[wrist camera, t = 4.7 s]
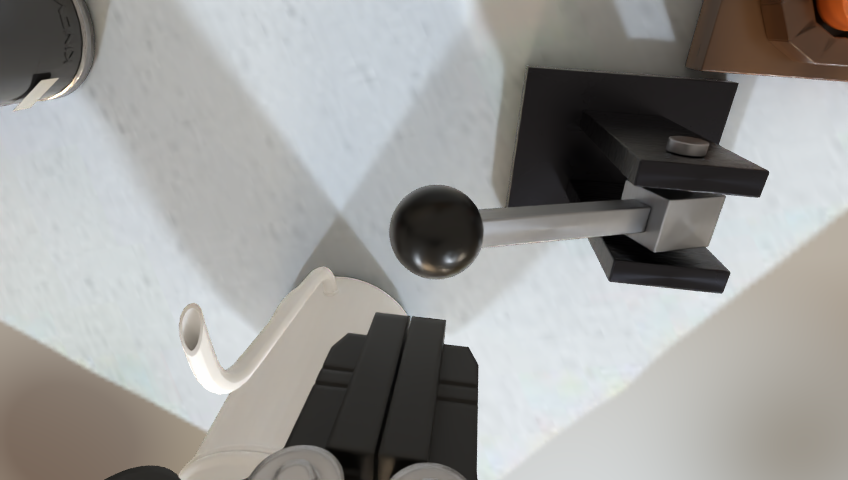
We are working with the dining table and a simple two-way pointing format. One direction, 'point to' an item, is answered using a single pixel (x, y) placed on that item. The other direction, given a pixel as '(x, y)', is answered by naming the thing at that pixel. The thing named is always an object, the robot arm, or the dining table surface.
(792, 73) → the button base
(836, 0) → the warm button
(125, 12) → the dining table surface
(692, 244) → the lever
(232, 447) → the coffeepot
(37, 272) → the dining table surface
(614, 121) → the lever base
